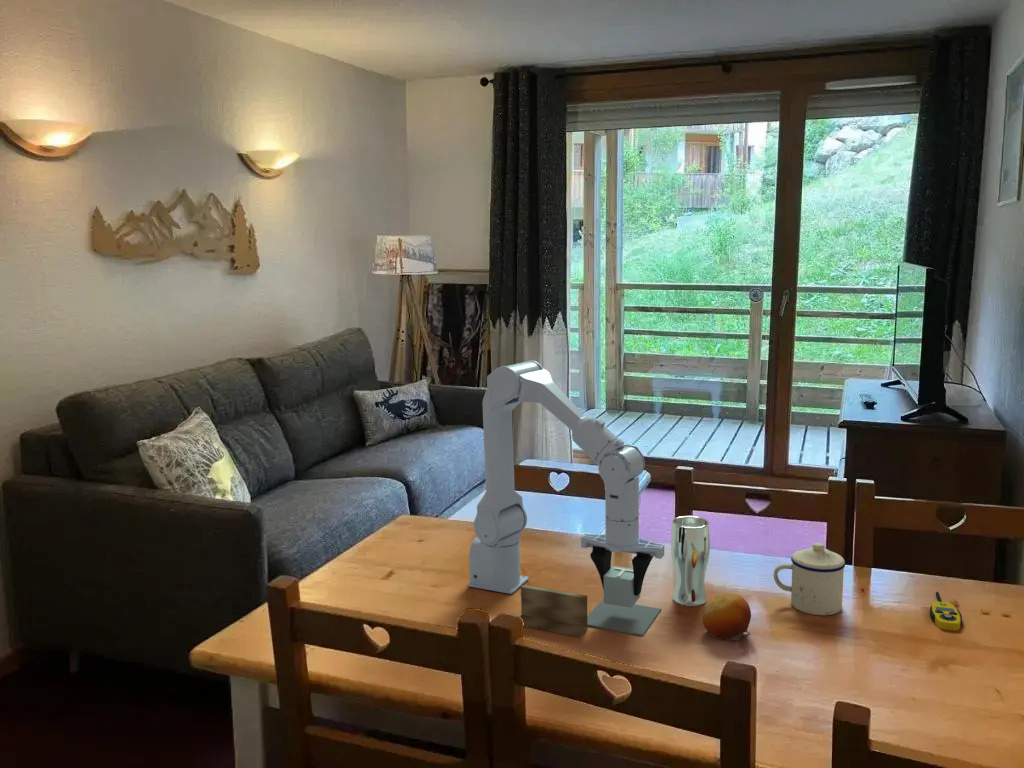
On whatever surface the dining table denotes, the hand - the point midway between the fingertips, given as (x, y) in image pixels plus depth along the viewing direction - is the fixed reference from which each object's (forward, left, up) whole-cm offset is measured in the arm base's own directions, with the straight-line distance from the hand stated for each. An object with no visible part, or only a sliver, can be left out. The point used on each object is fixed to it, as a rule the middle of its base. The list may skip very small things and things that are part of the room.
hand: (622, 590), depth 151 cm
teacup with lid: (+29, +18, -5) cm, 35 cm away
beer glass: (+9, +12, -5) cm, 16 cm away
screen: (-10, -8, -5) cm, 14 cm away
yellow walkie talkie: (+51, +24, -6) cm, 57 cm away
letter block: (0, 0, -2) cm, 2 cm away
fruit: (+18, +1, -5) cm, 19 cm away
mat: (0, 0, -5) cm, 5 cm away
